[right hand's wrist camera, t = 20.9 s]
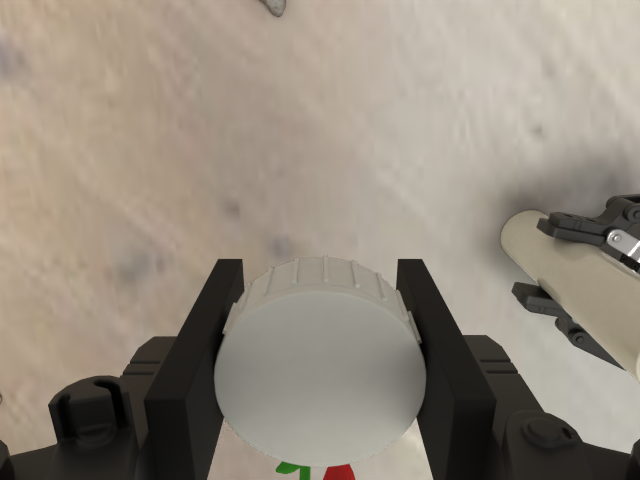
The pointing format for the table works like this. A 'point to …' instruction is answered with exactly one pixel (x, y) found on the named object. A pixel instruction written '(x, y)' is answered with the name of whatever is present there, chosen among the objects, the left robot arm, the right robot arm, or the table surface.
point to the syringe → (275, 6)
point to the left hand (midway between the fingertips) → (530, 260)
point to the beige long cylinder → (581, 285)
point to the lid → (320, 363)
